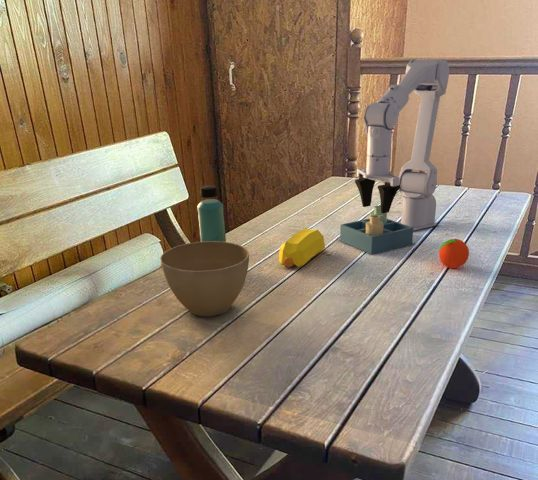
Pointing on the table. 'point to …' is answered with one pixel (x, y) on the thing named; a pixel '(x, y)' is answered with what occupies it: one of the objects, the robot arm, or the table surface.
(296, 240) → the yellow faceted toy car
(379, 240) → the carrier
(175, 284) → the brown bowl
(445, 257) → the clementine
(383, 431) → the table surface
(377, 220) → the cream bottle
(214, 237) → the beverage bottle
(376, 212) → the mint bottle
